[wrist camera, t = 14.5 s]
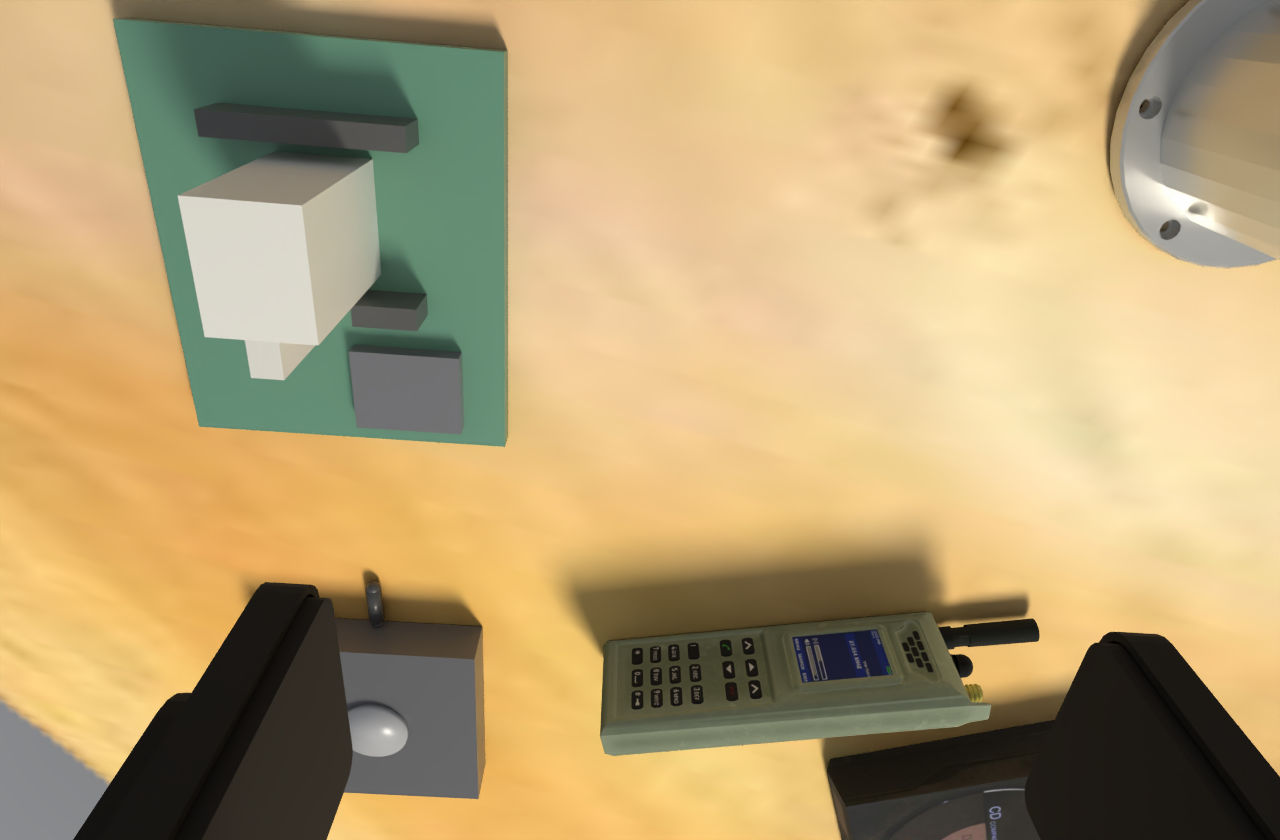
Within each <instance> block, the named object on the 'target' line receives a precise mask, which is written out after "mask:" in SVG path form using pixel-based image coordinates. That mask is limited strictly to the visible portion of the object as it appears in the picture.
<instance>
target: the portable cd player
mask: <svg viewBox="0 0 1280 840" xmlns="http://www.w3.org/2000/svg"><path fill="white" fill-rule="evenodd" d="M1054 721H1055V720H1051V721H1046V722H1040V723H1034V724H1028V725H1023V726H1017V727H1011V728H1006V729H1000V730H994V731H988V732H983V733H977V734H971V735H965V736H960V737H954V738H948V739H942V740H937V741H931V742H925V743H920V744H914V745H908V746H902V747H897V748H891V749H885V750H879V751H874V752H868V753H862V754H857V755H851V756H845V757H839V758H834V759H830V763H829V766H828V769H827V774H828V778H829V783H830V787H831V791H832V796H833V800H834V805H835V809H836V814H837V818H838V822H839V827H840V831H841V836H842V840H1041V839H1040V837H1039V835H1038V833H1037V831H1036V829H1035V826H1034V824H1033V822H1032V820H1031V818H1030V816H1029V813H1028V811H1027V807H1026V803H1025V794H1024V792H1025V784H1026V781H1027V779H1028V777H1029V775H1030V772H1031V770H1032V768H1033V766H1034V764H1035V762H1036V760H1037V757H1038V755H1039V753H1040V751H1041V749H1042V747H1043V745H1044V742H1045V740H1046V738H1047V736H1048V734H1049V732H1050V730H1051V727H1052V725H1053V723H1054Z"/></svg>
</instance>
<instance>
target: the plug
mask: <svg viewBox="0 0 1280 840" xmlns="http://www.w3.org/2000/svg"><path fill="white" fill-rule="evenodd" d="M178 200H179V206H180V211H181V216H182V221H183V226H184V232H185V237H186V242H187V247H188V253H189V258H190V263H191V268H192V273H193V279H194V284H195V289H196V294H197V299H198V305H199V310H200V315H201V320H202V325H203V331H204V336H205V337H209V338H223V339H237V340H245V345H246V351H247V357H248V363H249V369H250V375H251V378H259V379H273V380H285V379H286V378H287V377H288V376H289V374H290V373H291V372H292V371H293V370H294V369H295V368H296V367H297V366H298V364H299V363H300V362H301V361H302V360H303V359H304V358H305V357H306V355H307V354H308V353H309V352H310V351H311V350H312V349H313V348H314V347H315V345H318V346H319V344H320V343H321V342H322V341H323V340H324V339H325V338H326V336H327V335H328V334H329V333H330V332H331V331H332V330H333V329H334V327H335V326H336V325H337V324H338V323H339V322H340V321H341V320H342V318H343V317H344V316H345V315H346V314H347V313H348V312H349V311H350V309H351V308H352V307H353V306H354V305H355V304H356V303H357V301H358V300H359V299H360V298H361V297H362V296H363V295H364V294H365V292H366V291H367V290H368V289H369V288H370V287H371V286H372V285H373V283H374V282H375V281H376V280H377V279H378V278H379V277H380V276H381V263H380V250H379V236H378V223H377V210H376V196H375V183H374V170H373V159H366V158H354V157H342V156H330V155H318V154H306V153H294V152H282V151H274V152H272V153H270V154H267V155H265V156H263V157H261V158H259V159H256V160H254V161H252V162H250V163H248V164H245V165H243V166H241V167H239V168H237V169H235V170H232V171H230V172H228V173H226V174H224V175H221V176H219V177H217V178H215V179H213V180H210V181H208V182H206V183H204V184H202V185H199V186H197V187H195V188H193V189H191V190H189V191H186V192H184V193H182V194H180V195H178Z"/></svg>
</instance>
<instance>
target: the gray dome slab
mask: <svg viewBox="0 0 1280 840" xmlns="http://www.w3.org/2000/svg"><path fill="white" fill-rule="evenodd" d="M366 594H367V603H368V612H369V620H358V619H340V618H335V623H336V630H337V637H338V645H339V652H340V659H341V666H342V674H343V681H344V688H345V696H346V703H347V710H348V718H349V725H350V732H351V739H352V747H353V757H352V765H351V771H350V775H349V778H348V782H347V784H346V787H345V790H344V792H346V793H366V794H387V795H408V796H429V797H449V798H470V799H478V798H479V793H480V788H481V783H482V778H483V773H484V768H485V726H484V679H483V631H482V627H481V626H463V625H446V624H428V623H411V622H393V621H384V614H383V604H382V594H381V586H380V584H379V583H378V582H377V581H371V582H369V583H368V584H367V586H366Z"/></svg>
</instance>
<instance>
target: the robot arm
mask: <svg viewBox="0 0 1280 840" xmlns="http://www.w3.org/2000/svg"><path fill="white" fill-rule="evenodd" d="M1143 101H1144V103H1143V106H1142V108H1141V109H1140V110H1139V107H1140V105H1141V104H1142V102H1143ZM1110 172H1111V177H1112V182H1113V188H1114V193H1115V196H1116V199H1117V201H1118V203H1119V205H1120V207H1121V210H1122V212H1123V214H1124V216H1125V218H1126V219H1127V220H1128V222H1129V223H1130V224H1131V225H1132V227H1133V228H1134V229H1135V230H1136V232H1137V233H1138V234H1139V235H1140V236H1141V237H1142V238H1144V239H1145V240H1146V241H1148V242H1149V243H1150V244H1152V245H1153V246H1154V247H1156V248H1157V249H1159V250H1161V251H1163V252H1165V253H1167V254H1169V255H1171V256H1173V257H1175V258H1177V259H1179V260H1182V261H1185V262H1189V263H1192V264H1195V265H1199V266H1202V267H1215V268H1228V269H1229V268H1238V267H1248V266H1257V265H1260V264H1264V263H1268V262H1271V261H1275V260H1280V0H1189V1H1188V2H1187V3H1186V4H1185V5H1184V6H1183V7H1182V8H1181V9H1180V10H1179V11H1178V12H1177V13H1176V14H1175V15H1174V16H1173V17H1172V18H1171V19H1170V20H1169V21H1168V22H1167V23H1166V25H1165V26H1164V27H1163V28H1162V30H1161V31H1160V32H1159V34H1158V35H1157V36H1156V37H1155V39H1154V40H1153V41H1152V43H1151V44H1150V45H1149V46H1148V48H1147V49H1146V51H1145V52H1144V54H1143V56H1142V58H1141V59H1140V61H1139V63H1138V65H1137V66H1136V68H1135V70H1134V72H1133V73H1132V75H1131V77H1130V79H1129V81H1128V83H1127V86H1126V88H1125V91H1124V94H1123V96H1122V99H1121V101H1120V104H1119V107H1118V109H1117V112H1116V117H1115V122H1114V127H1113V132H1112V137H1111V144H1110ZM352 757H353V747H352V739H351V732H350V725H349V718H348V710H347V703H346V696H345V688H344V681H343V674H342V666H341V659H340V652H339V645H338V637H337V630H336V623H335V615H334V608H333V604H332V601H331V599H329V598H319V594H318V590H317V589H316V587H315V586H313V585H304V584H287V583H270V582H265V583H263V584H262V585H260V587H259V588H258V589H257V590H256V592H255V593H254V595H253V596H252V598H251V600H250V601H249V603H248V604H247V606H246V607H245V609H244V611H243V612H242V614H241V615H240V617H239V619H238V620H237V622H236V623H235V625H234V627H233V628H232V630H231V631H230V633H229V634H228V636H227V638H226V639H225V641H224V642H223V644H222V646H221V647H220V649H219V650H218V652H217V653H216V655H215V657H214V658H213V660H212V661H211V663H210V665H209V666H208V668H207V669H206V671H205V673H204V674H203V676H202V677H201V679H200V680H199V682H198V684H197V685H196V687H195V688H194V690H193V692H192V693H177V694H176V695H174V696H173V697H171V698H170V699H168V700H167V701H166V702H165V704H164V705H163V706H162V707H161V708H160V710H159V711H158V712H157V714H156V715H155V717H154V718H153V720H152V721H151V723H150V724H149V726H148V727H147V729H146V730H145V732H144V733H143V735H142V736H141V738H140V739H139V741H138V742H137V744H136V745H135V747H134V748H133V750H132V751H131V753H130V754H129V756H128V758H127V759H126V761H125V762H124V764H123V765H122V767H121V768H120V770H119V771H118V773H117V774H116V776H115V777H114V779H113V780H112V782H111V783H110V785H109V786H108V788H107V789H106V791H105V792H104V794H103V795H102V797H101V798H100V800H99V801H98V803H97V804H96V806H95V808H94V809H93V811H92V812H91V814H90V815H89V817H88V818H87V820H86V821H85V823H84V824H83V826H82V827H81V829H80V830H79V832H78V833H77V835H76V836H75V838H74V839H73V840H326V839H327V837H328V834H329V831H330V828H331V826H332V823H333V820H334V817H335V815H336V812H337V809H338V806H339V804H340V801H341V798H342V795H343V793H344V790H345V787H346V784H347V782H348V778H349V775H350V771H351V765H352ZM1024 794H1025V803H1026V807H1027V811H1028V813H1029V816H1030V818H1031V820H1032V822H1033V824H1034V826H1035V829H1036V831H1037V833H1038V835H1039V837H1040V839H1041V840H1280V777H1279V775H1278V774H1277V773H1276V772H1275V771H1274V769H1273V768H1272V767H1271V766H1270V764H1269V763H1268V762H1267V761H1266V759H1265V758H1264V757H1263V756H1262V754H1261V753H1260V752H1259V751H1258V750H1257V748H1256V747H1255V746H1254V745H1253V743H1252V742H1251V741H1250V740H1249V738H1248V737H1247V736H1246V735H1245V734H1244V732H1243V731H1242V730H1241V729H1240V727H1239V726H1238V725H1237V724H1236V722H1235V721H1234V720H1233V719H1232V717H1231V716H1230V715H1229V714H1228V713H1227V711H1226V710H1225V709H1224V708H1223V706H1222V705H1221V704H1220V703H1219V701H1218V700H1217V699H1216V698H1215V697H1214V695H1213V694H1212V693H1211V692H1210V690H1209V689H1208V688H1207V687H1206V685H1205V684H1204V683H1203V682H1202V680H1201V679H1200V678H1199V677H1198V676H1197V674H1196V673H1195V672H1194V671H1193V669H1192V668H1191V667H1190V666H1189V664H1188V663H1187V662H1186V661H1185V660H1184V658H1183V657H1182V656H1181V655H1180V653H1179V652H1178V651H1177V650H1176V648H1175V647H1174V646H1173V645H1172V644H1171V643H1170V642H1169V641H1168V640H1167V639H1166V638H1165V637H1163V636H1160V635H1158V634H1143V633H1126V632H1109V633H1107V634H1106V635H1104V636H1103V637H1102V639H1101V640H1100V642H1099V643H1094V644H1092V645H1091V646H1090V647H1089V649H1088V650H1087V652H1086V655H1085V657H1084V659H1083V661H1082V663H1081V665H1080V667H1079V670H1078V672H1077V674H1076V676H1075V678H1074V680H1073V682H1072V685H1071V687H1070V689H1069V691H1068V693H1067V695H1066V697H1065V700H1064V702H1063V704H1062V706H1061V708H1060V710H1059V712H1058V715H1057V717H1056V719H1055V721H1054V723H1053V725H1052V727H1051V730H1050V732H1049V734H1048V736H1047V738H1046V740H1045V742H1044V745H1043V747H1042V749H1041V751H1040V753H1039V755H1038V757H1037V760H1036V762H1035V764H1034V766H1033V768H1032V770H1031V772H1030V775H1029V777H1028V779H1027V781H1026V784H1025V792H1024Z"/></svg>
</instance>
